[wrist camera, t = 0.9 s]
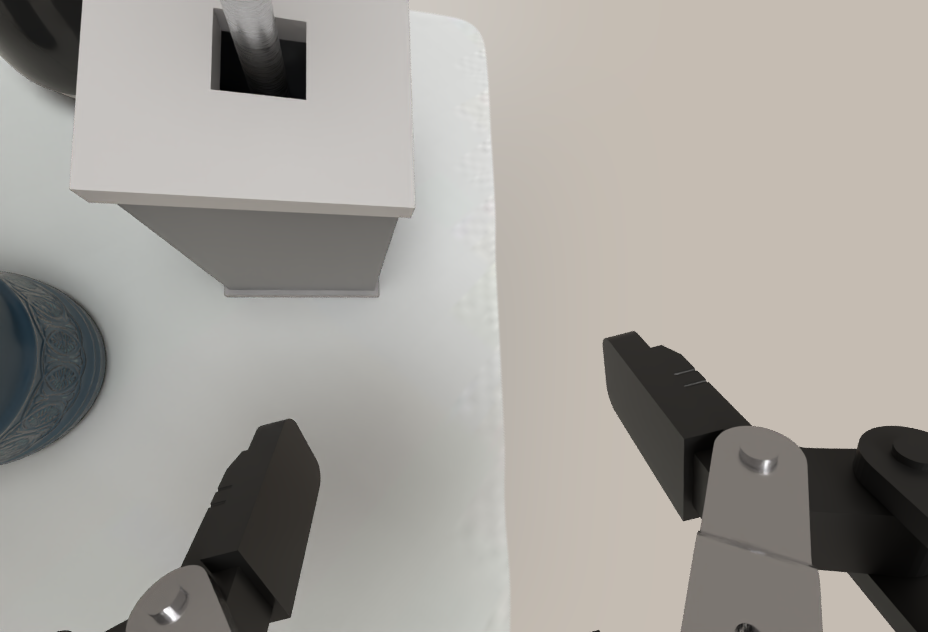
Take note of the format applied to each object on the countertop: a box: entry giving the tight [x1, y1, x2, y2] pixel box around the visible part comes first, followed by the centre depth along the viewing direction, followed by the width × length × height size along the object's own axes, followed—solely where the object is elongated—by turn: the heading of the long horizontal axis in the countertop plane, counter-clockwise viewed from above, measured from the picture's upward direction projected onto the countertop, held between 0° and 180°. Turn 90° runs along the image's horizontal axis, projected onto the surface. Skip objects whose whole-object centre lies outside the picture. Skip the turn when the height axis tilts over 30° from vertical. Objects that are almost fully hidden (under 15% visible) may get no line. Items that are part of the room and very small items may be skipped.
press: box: [69, 0, 415, 297], centre depth 28 cm, size 12×14×21 cm
